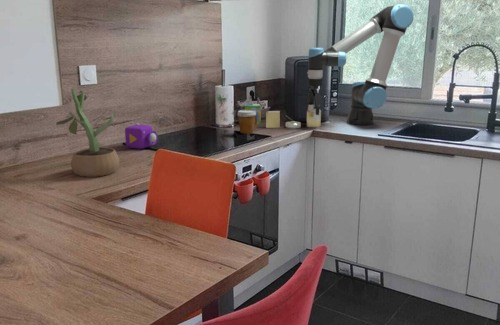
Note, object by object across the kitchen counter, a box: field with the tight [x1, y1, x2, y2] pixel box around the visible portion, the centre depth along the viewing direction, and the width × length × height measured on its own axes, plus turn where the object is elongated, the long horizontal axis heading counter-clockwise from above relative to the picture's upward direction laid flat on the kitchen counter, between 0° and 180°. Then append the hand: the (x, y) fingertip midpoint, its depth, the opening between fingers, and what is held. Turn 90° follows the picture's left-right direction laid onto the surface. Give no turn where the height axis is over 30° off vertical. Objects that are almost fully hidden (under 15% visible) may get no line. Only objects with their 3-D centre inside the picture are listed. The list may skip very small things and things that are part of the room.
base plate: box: [285, 120, 302, 129], centre depth 251 cm, size 26×16×4 cm, turn 96°
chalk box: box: [243, 98, 262, 126], centre depth 262 cm, size 9×9×15 cm
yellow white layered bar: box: [306, 109, 322, 128], centre depth 252 cm, size 7×2×9 cm, turn 96°
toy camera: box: [124, 122, 158, 150], centre depth 211 cm, size 11×14×10 cm
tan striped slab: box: [265, 110, 281, 129], centre depth 249 cm, size 7×2×9 cm, turn 96°
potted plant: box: [55, 88, 120, 178], centre depth 172 cm, size 22×18×30 cm
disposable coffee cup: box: [236, 109, 256, 135], centre depth 237 cm, size 10×10×12 cm
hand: (313, 118), depth 252 cm, fingers open, 13 cm apart
